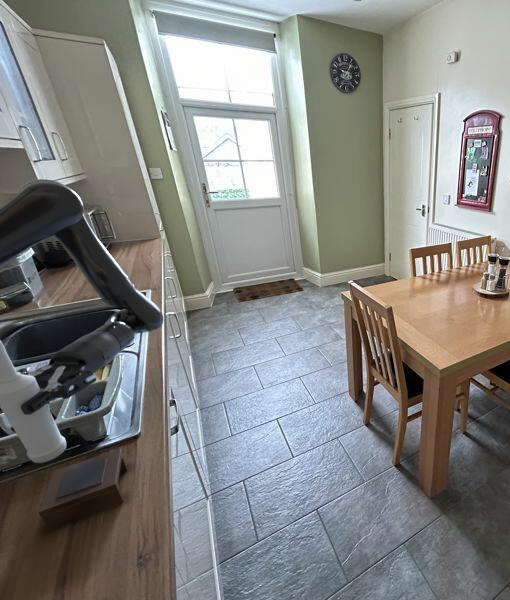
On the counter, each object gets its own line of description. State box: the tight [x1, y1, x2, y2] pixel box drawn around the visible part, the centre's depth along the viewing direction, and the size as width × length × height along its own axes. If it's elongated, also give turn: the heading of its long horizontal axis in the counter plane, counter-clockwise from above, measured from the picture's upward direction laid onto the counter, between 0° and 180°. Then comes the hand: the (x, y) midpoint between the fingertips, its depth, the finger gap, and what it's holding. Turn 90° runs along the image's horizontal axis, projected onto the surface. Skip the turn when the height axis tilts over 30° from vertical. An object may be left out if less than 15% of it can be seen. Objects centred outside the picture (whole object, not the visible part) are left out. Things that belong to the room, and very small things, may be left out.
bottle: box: [0, 339, 67, 464], centre depth 59 cm, size 5×5×25 cm
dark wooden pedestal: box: [37, 448, 129, 531], centre depth 61 cm, size 10×9×5 cm
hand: (7, 410), depth 56 cm, fingers closed on bottle, 5 cm apart
